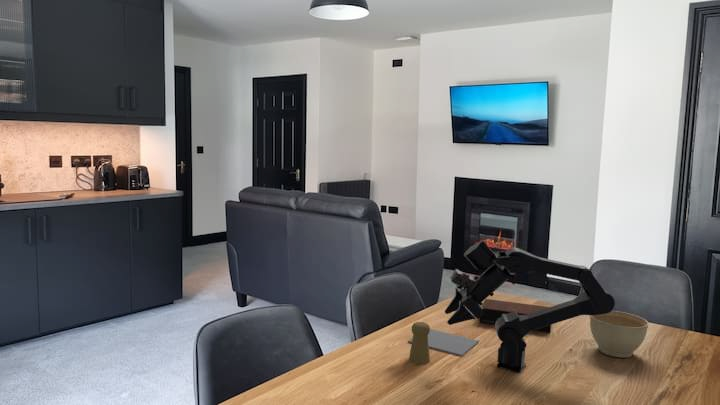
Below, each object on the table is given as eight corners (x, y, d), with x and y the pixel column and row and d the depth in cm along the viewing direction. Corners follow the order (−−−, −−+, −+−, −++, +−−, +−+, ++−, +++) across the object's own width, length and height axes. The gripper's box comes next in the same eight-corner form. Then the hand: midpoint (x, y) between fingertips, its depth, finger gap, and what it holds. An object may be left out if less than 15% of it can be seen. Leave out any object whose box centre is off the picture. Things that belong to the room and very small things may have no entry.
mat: (479, 342, 166) (479, 340, 166) (462, 356, 155) (462, 354, 155) (427, 329, 176) (427, 328, 176) (407, 342, 164) (407, 340, 164)
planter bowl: (653, 365, 152) (656, 329, 151) (593, 359, 155) (596, 324, 154) (635, 345, 168) (638, 312, 167) (582, 340, 171) (584, 307, 170)
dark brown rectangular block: (479, 323, 185) (479, 307, 184) (483, 314, 196) (484, 298, 195) (550, 334, 176) (551, 317, 176) (551, 323, 187) (552, 307, 187)
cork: (431, 365, 148) (432, 327, 147) (409, 364, 148) (411, 326, 147) (428, 356, 154) (430, 320, 153) (408, 355, 154) (409, 319, 153)
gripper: (465, 254, 156) (426, 288, 158) (473, 269, 138) (428, 307, 140) (490, 281, 156) (451, 315, 158) (502, 300, 138) (457, 338, 140)
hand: (446, 318), depth 149 cm, fingers open, 9 cm apart
